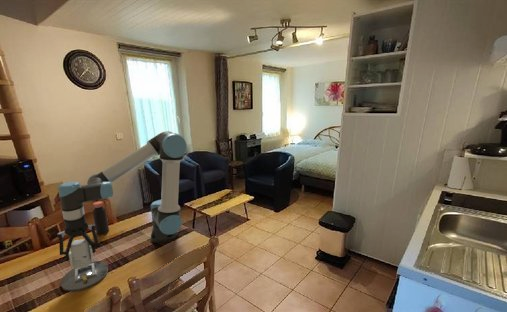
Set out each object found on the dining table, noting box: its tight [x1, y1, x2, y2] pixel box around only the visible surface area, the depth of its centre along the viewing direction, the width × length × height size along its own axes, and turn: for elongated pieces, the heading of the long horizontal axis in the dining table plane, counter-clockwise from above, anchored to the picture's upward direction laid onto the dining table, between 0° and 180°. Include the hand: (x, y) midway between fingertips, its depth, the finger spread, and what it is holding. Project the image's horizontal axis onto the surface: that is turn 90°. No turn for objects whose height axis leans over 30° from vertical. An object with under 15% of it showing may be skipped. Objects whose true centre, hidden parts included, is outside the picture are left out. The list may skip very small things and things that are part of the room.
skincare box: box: [70, 238, 93, 269], centre depth 108 cm, size 6×4×12 cm
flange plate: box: [60, 260, 109, 293], centre depth 110 cm, size 18×18×6 cm
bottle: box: [92, 200, 110, 236], centre depth 146 cm, size 7×7×20 cm
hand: (82, 262), depth 109 cm, fingers closed on skincare box, 7 cm apart
